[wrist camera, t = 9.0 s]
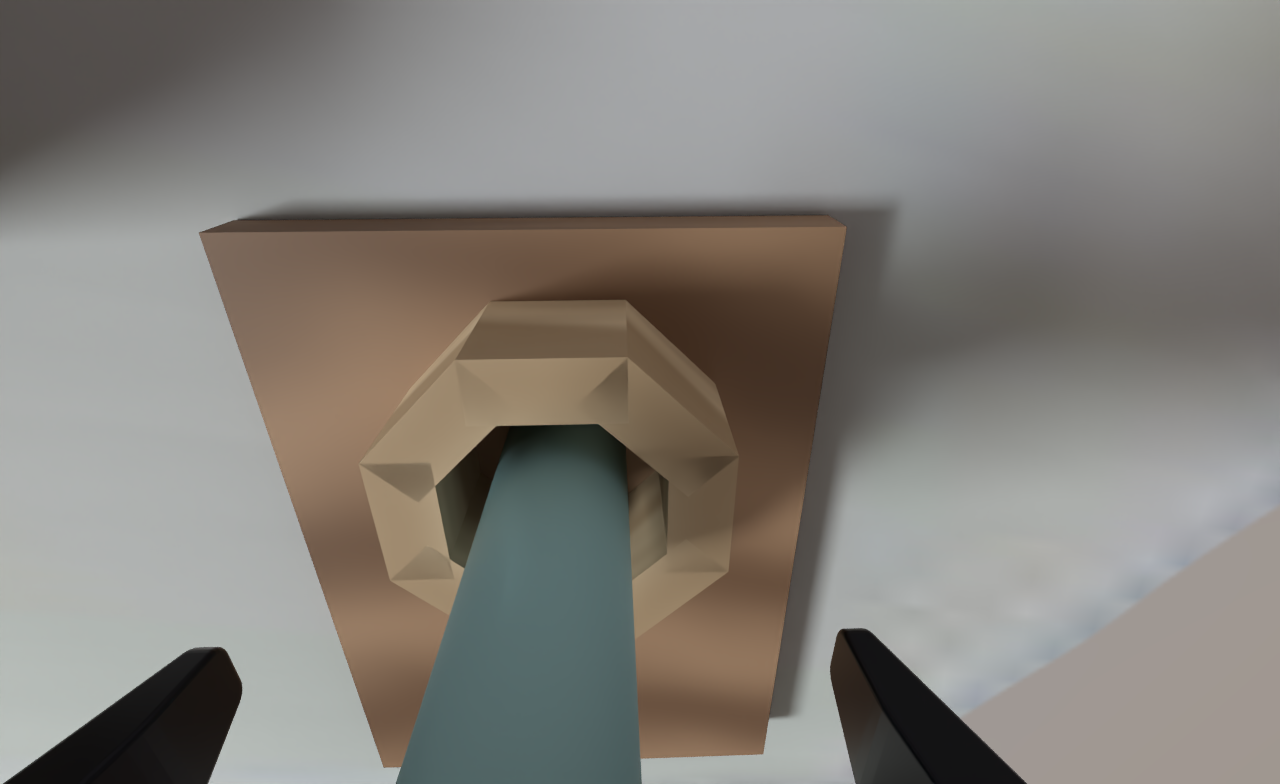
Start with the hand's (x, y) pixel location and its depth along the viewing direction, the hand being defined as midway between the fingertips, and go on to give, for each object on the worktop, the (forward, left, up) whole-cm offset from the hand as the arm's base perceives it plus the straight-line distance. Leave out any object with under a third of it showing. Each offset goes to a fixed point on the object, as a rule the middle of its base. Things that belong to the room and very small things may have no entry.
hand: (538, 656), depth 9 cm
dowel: (0, 0, -6) cm, 6 cm away
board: (-4, +1, -7) cm, 8 cm away
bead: (0, 0, -6) cm, 6 cm away
